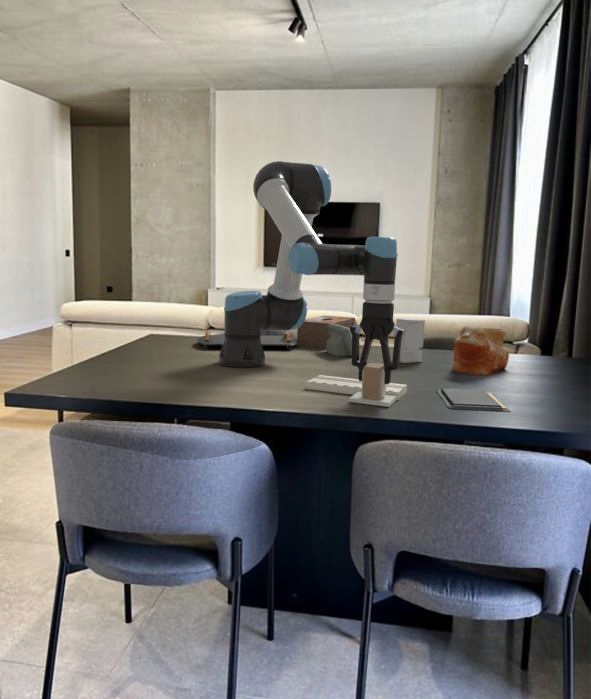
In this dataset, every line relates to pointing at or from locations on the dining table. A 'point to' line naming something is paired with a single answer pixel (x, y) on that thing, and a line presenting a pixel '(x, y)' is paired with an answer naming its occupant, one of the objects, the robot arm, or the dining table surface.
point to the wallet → (471, 400)
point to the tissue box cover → (320, 330)
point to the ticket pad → (349, 386)
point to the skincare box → (411, 339)
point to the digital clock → (339, 340)
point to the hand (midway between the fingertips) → (373, 395)
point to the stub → (372, 388)
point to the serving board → (265, 340)
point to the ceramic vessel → (480, 351)
